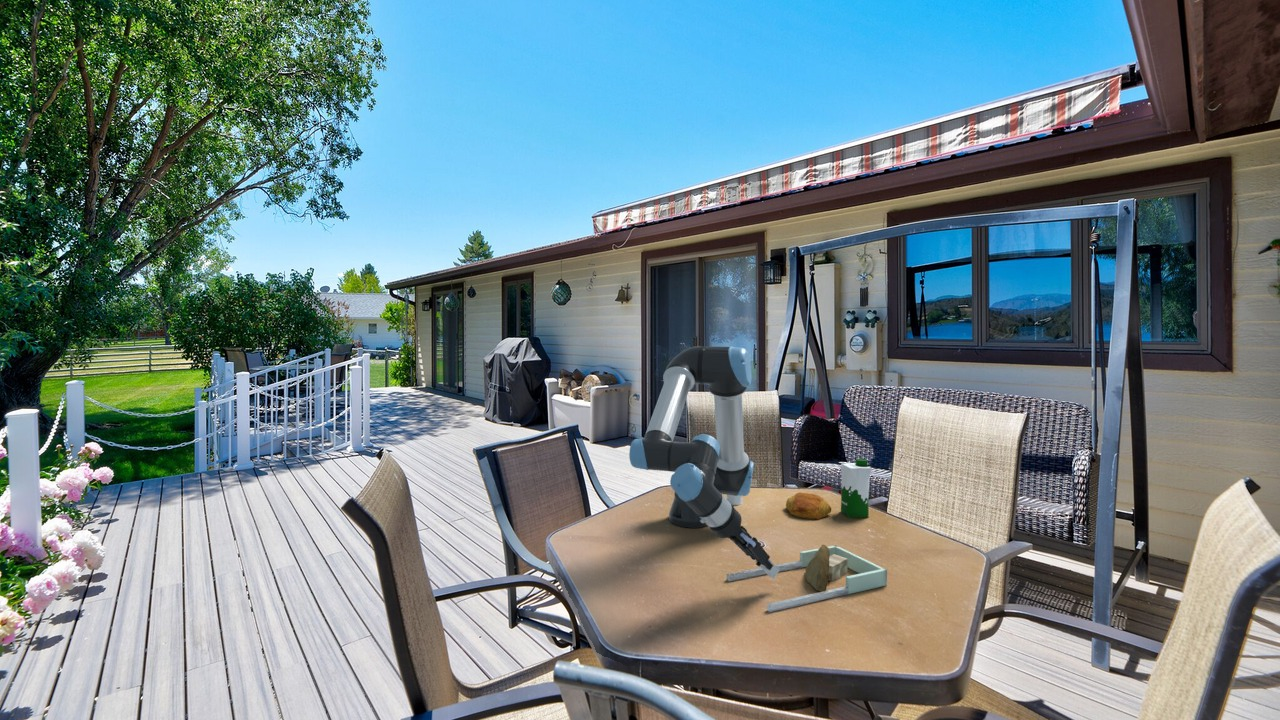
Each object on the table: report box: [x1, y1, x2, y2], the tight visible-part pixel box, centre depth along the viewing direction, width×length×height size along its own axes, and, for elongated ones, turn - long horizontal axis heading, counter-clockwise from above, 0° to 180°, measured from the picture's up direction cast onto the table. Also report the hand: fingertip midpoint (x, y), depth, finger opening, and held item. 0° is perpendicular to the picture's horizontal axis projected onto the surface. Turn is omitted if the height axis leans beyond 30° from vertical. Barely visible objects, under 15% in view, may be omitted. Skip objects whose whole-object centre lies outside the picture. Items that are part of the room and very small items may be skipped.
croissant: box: [785, 492, 832, 520], centre depth 198 cm, size 15×16×8 cm
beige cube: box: [829, 554, 848, 578], centre depth 148 cm, size 4×4×4 cm
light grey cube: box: [828, 559, 841, 582], centre depth 145 cm, size 4×4×4 cm
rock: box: [803, 544, 830, 592], centre depth 141 cm, size 10×8×10 cm
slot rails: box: [726, 560, 849, 613], centre depth 138 cm, size 24×18×2 cm
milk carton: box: [840, 458, 872, 519], centre depth 197 cm, size 9×9×20 cm
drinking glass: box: [726, 495, 744, 506], centre depth 209 cm, size 7×7×10 cm
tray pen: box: [799, 545, 888, 595], centre depth 146 cm, size 13×18×4 cm
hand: (774, 573), depth 137 cm, fingers closed
